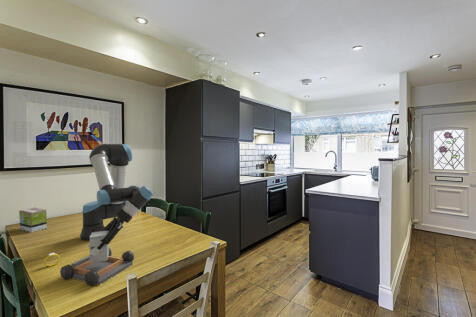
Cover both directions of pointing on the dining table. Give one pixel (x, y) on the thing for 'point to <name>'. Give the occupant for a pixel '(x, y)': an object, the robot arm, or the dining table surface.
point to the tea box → (33, 219)
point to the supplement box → (94, 240)
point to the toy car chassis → (97, 268)
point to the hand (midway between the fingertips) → (91, 251)
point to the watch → (50, 256)
